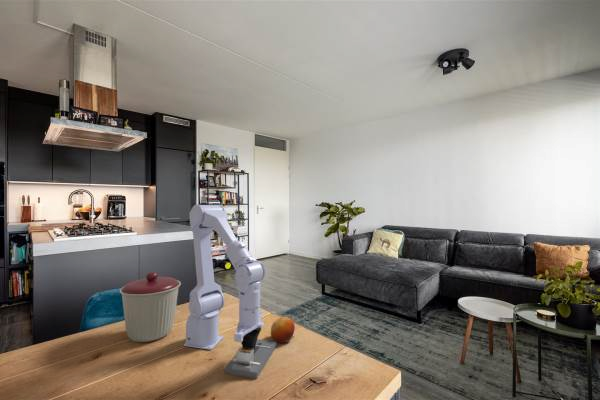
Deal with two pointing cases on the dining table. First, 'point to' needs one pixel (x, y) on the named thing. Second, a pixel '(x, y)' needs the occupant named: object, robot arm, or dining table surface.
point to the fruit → (282, 330)
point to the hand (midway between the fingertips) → (249, 355)
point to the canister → (149, 307)
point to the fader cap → (245, 356)
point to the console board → (260, 359)
